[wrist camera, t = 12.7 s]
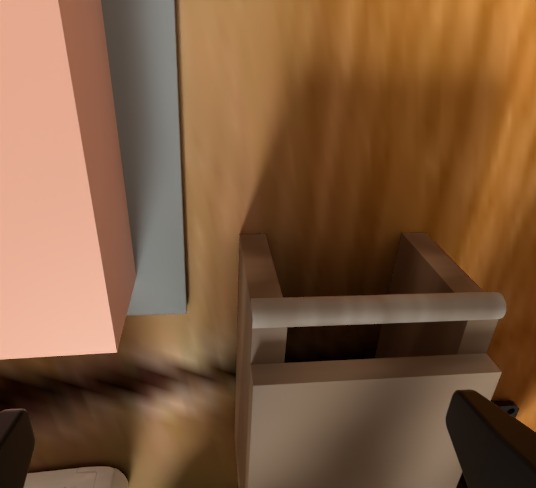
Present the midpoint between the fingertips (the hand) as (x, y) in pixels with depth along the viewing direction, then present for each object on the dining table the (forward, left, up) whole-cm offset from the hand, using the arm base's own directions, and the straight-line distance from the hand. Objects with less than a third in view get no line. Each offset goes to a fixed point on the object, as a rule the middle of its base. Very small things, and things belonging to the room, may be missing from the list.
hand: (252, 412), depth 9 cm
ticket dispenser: (-5, +7, -12) cm, 15 cm away
